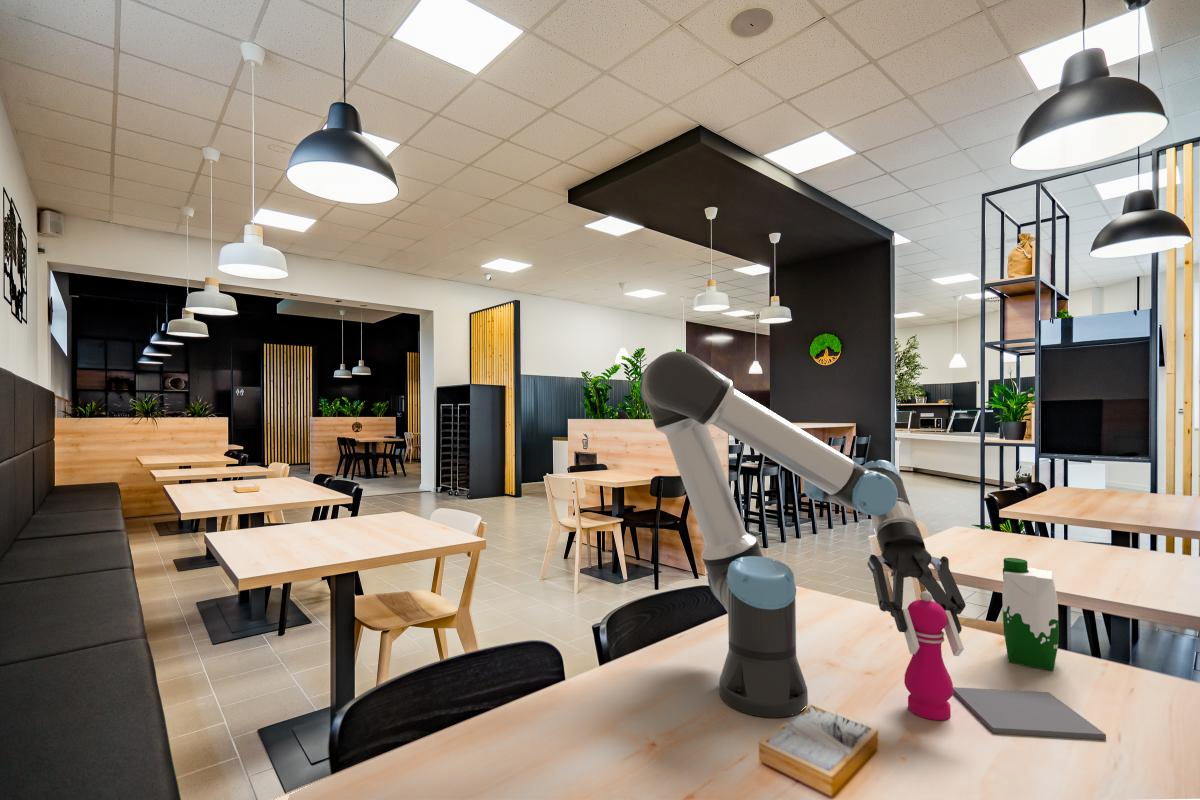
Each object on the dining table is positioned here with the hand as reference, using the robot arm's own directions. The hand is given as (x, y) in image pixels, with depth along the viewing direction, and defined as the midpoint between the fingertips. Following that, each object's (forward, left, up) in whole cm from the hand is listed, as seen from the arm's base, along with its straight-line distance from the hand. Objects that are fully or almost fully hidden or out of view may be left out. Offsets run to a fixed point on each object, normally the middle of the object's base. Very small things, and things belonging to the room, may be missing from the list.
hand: (936, 651), depth 95 cm
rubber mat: (+15, +5, -11) cm, 19 cm away
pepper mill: (0, +4, -12) cm, 12 cm away
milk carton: (+29, +28, -12) cm, 42 cm away
